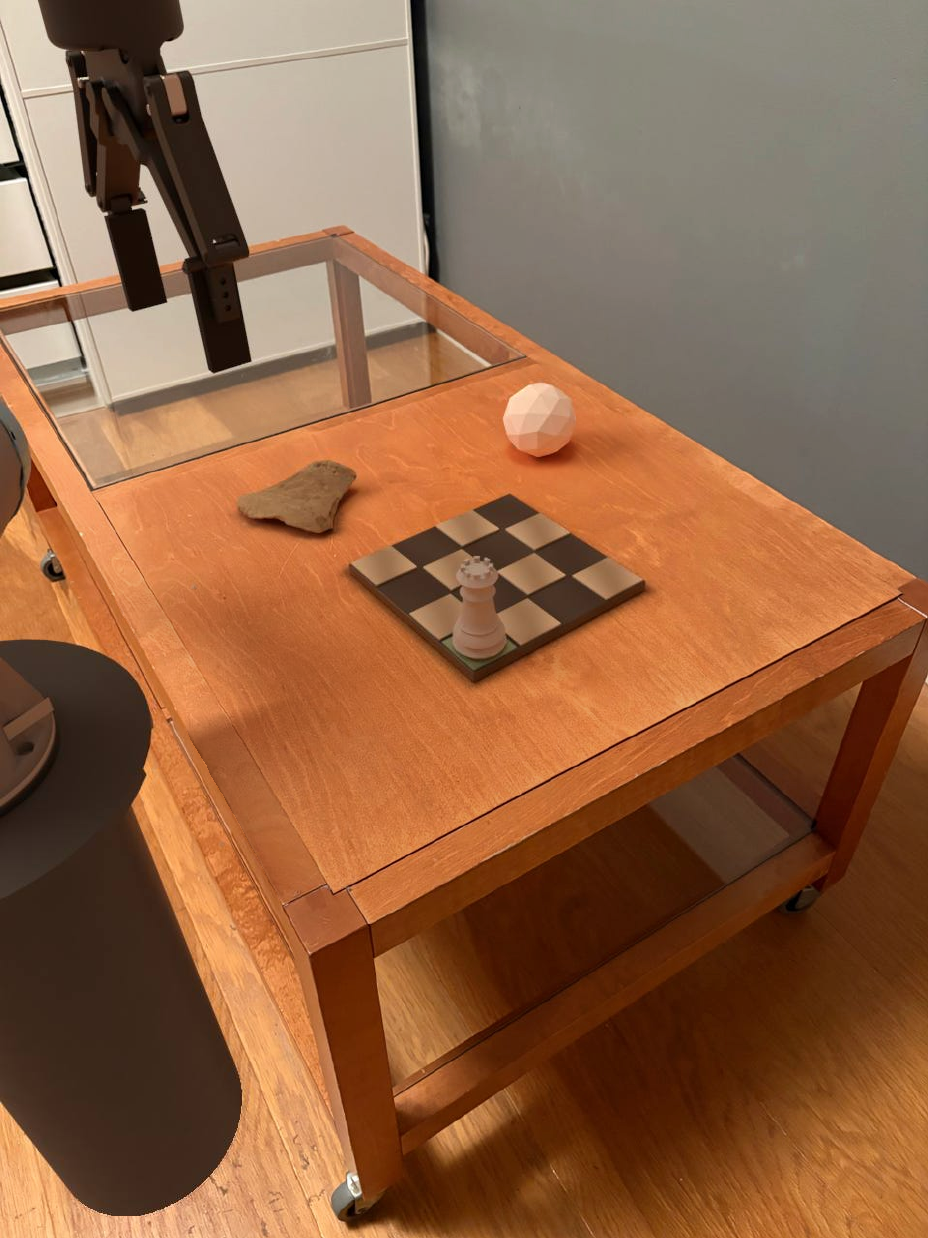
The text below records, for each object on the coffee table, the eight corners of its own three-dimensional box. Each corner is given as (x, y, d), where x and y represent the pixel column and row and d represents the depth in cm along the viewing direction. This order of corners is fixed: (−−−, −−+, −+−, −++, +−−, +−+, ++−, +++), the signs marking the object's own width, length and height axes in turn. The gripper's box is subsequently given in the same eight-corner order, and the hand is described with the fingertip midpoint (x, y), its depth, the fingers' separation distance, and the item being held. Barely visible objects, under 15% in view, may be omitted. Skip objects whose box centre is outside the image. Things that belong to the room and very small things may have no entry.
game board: (473, 683, 76) (473, 672, 75) (349, 572, 88) (347, 562, 87) (645, 590, 84) (646, 579, 84) (509, 501, 97) (509, 491, 96)
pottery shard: (327, 551, 93) (372, 482, 98) (313, 520, 90) (360, 450, 95) (239, 533, 97) (287, 467, 103) (222, 502, 94) (273, 436, 99)
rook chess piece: (471, 669, 75) (468, 590, 70) (442, 640, 78) (436, 561, 73) (517, 648, 77) (517, 569, 72) (486, 620, 80) (484, 542, 75)
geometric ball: (531, 463, 108) (534, 392, 107) (588, 459, 102) (592, 385, 102) (486, 454, 102) (490, 379, 102) (545, 450, 97) (549, 371, 96)
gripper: (268, -36, 45) (325, 377, 59) (87, -57, 61) (165, 273, 75) (117, -20, 42) (214, 414, 55) (-33, -47, 58) (71, 296, 71)
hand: (186, 334), depth 65 cm, fingers open, 13 cm apart
